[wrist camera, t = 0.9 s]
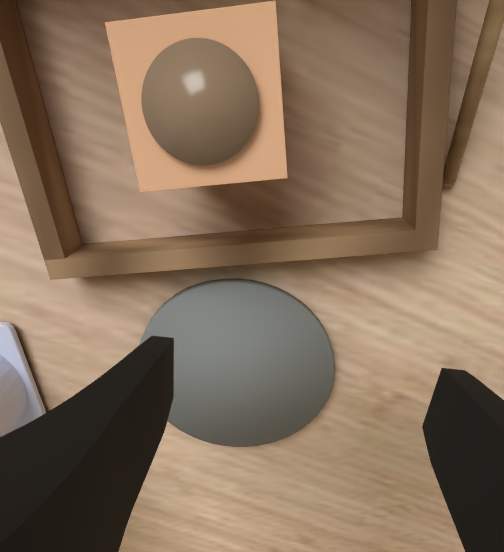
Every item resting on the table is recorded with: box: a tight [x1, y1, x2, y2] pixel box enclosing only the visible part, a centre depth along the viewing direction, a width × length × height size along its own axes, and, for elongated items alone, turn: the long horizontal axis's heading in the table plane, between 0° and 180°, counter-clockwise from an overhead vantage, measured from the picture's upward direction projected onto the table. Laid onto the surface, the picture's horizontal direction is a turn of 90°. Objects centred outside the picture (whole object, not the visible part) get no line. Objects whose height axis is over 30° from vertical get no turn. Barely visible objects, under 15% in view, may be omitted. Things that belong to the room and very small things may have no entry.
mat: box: [140, 279, 335, 447], centre depth 24 cm, size 11×11×1 cm
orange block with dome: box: [105, 1, 287, 192], centre depth 16 cm, size 5×5×6 cm
